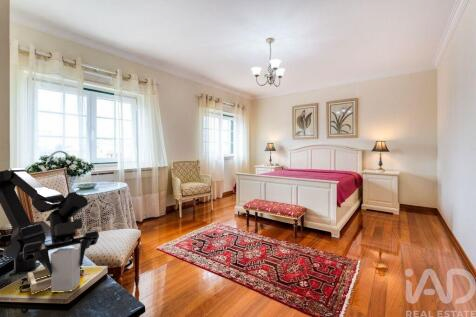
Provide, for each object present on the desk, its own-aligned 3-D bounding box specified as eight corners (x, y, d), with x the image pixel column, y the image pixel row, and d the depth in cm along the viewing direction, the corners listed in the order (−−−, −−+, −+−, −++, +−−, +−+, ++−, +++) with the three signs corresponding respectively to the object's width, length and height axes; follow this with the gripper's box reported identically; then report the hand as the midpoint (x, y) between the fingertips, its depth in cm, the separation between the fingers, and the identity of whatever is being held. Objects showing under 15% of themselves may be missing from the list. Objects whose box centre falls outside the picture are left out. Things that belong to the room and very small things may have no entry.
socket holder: (27, 281, 72) (27, 272, 72) (66, 270, 79) (66, 261, 79) (32, 294, 65) (32, 284, 65) (73, 280, 73) (73, 271, 73)
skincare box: (80, 284, 70) (81, 246, 70) (71, 293, 66) (72, 253, 66) (60, 285, 70) (60, 247, 70) (49, 294, 65) (49, 253, 65)
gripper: (23, 217, 64) (24, 268, 56) (97, 207, 77) (106, 247, 69) (22, 236, 69) (23, 286, 62) (91, 224, 83) (99, 263, 75)
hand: (66, 269), depth 67 cm, fingers closed on skincare box, 7 cm apart
